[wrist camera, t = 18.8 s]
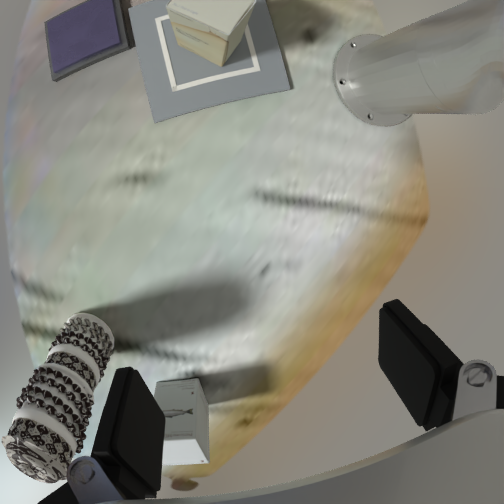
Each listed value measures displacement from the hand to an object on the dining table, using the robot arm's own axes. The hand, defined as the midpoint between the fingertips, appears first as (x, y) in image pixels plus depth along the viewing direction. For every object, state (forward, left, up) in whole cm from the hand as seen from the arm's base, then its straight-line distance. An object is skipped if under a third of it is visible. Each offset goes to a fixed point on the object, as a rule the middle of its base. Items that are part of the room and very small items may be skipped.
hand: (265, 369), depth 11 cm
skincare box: (-3, -19, -28) cm, 34 cm away
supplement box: (+16, +28, -29) cm, 43 cm away
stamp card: (-2, -20, -28) cm, 35 cm away
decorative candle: (+26, +13, -29) cm, 41 cm away
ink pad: (+12, -27, -28) cm, 41 cm away
